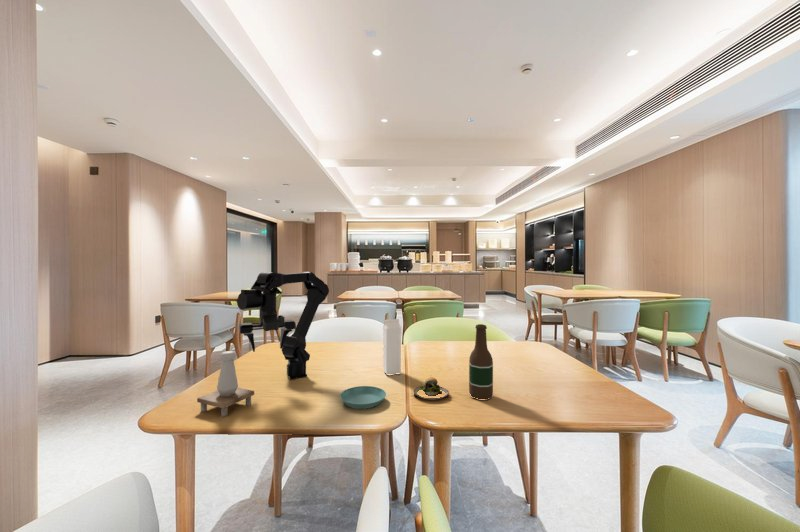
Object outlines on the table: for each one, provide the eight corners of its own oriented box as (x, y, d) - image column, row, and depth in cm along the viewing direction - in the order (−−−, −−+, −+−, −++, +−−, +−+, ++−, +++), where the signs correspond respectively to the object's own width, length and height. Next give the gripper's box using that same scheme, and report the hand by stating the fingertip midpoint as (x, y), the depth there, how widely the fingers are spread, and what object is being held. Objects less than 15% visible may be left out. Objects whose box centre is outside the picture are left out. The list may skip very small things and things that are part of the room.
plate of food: (408, 400, 109) (408, 377, 109) (419, 388, 120) (420, 367, 120) (444, 406, 105) (444, 382, 105) (452, 392, 116) (452, 371, 116)
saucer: (335, 397, 111) (335, 389, 111) (377, 391, 117) (377, 383, 117) (346, 415, 98) (346, 406, 98) (392, 407, 103) (392, 399, 103)
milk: (400, 375, 134) (401, 320, 134) (386, 376, 132) (386, 320, 132) (396, 370, 140) (397, 317, 139) (382, 371, 138) (383, 318, 138)
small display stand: (229, 398, 109) (229, 385, 109) (254, 403, 105) (254, 391, 105) (197, 411, 99) (197, 398, 99) (223, 418, 95) (223, 404, 95)
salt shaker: (219, 399, 98) (219, 355, 98) (214, 393, 103) (214, 351, 103) (240, 394, 102) (240, 352, 102) (235, 389, 106) (235, 348, 106)
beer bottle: (493, 393, 115) (493, 323, 115) (492, 402, 107) (492, 327, 107) (470, 390, 117) (470, 322, 117) (467, 399, 110) (467, 326, 110)
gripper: (242, 311, 109) (241, 359, 109) (299, 307, 118) (299, 351, 118) (238, 307, 118) (238, 351, 118) (292, 304, 128) (292, 345, 128)
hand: (267, 350), depth 121 cm, fingers open, 9 cm apart
